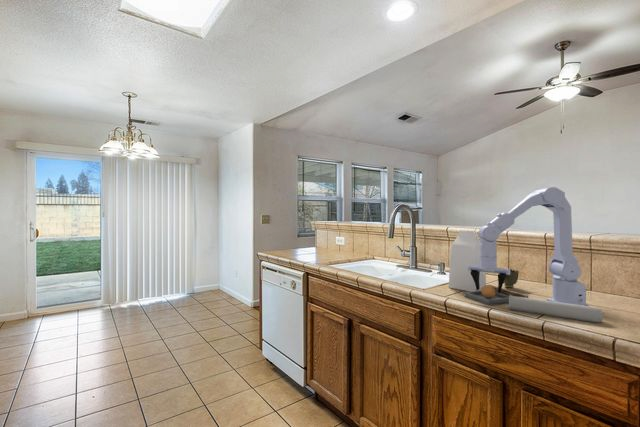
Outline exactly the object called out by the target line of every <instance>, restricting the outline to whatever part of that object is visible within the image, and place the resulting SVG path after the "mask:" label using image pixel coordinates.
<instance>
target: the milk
mask: <svg viewBox="0 0 640 427" xmlns="http://www.w3.org/2000/svg"><path fill="white" fill-rule="evenodd" d="M458 232H459V233H458V235H457V236H456V238H455V239H454V241H453V242H452V244H451V246H450V254H449V255H450V256H449V276H448V288H450V289H455V290H460V289H461V290H462V291H466V292H474V291H481V290H482V288H483V287H484V286H485V285H487V276H486V275H487V272H480V275H479V286H480V287H479V290H476V285H475V282H474V280H473V277H472V276H471V274H470V272H471V271H468V266H469V265H473V266H480V238H479V236H478V234H477V233H476V231H475V230H465V229H464V230H463V229H462V230H459V231H458ZM461 290H460V291H461Z"/></svg>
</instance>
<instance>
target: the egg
mask: <svg viewBox="0 0 640 427" xmlns="http://www.w3.org/2000/svg"><path fill="white" fill-rule="evenodd" d="M490 285H491V284H486V285H485V286H484V287H483V288H482V290H480V291H481V292H482V294H483V296H485V297H486V298H492V297H494V296H495V294H496V290H495V288H494V287H492V286H493V285H492V286H490Z"/></svg>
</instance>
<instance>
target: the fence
mask: <svg viewBox="0 0 640 427" xmlns="http://www.w3.org/2000/svg"><path fill="white" fill-rule="evenodd" d="M489 285H490V286H492V287H494V288H495V290H496V292H497V293H498V286H494V285H491V284H489ZM500 294H504V295H507V296H509V295H512V296H517V297H524V298H529V295H527V294H524V293H520V292H517V291H513V290H509V289H507V288H502V289H501V293H500Z"/></svg>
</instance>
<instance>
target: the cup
mask: <svg viewBox="0 0 640 427" xmlns="http://www.w3.org/2000/svg"><path fill="white" fill-rule="evenodd" d="M509 269H510V275H507V277H506V278H505V280H504V283H503V285H504V287H505V289H513V288H514V287H515V285H516V284H517V282H518V279H519V272H520V271H519V270H517V269H512V268H509Z"/></svg>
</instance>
